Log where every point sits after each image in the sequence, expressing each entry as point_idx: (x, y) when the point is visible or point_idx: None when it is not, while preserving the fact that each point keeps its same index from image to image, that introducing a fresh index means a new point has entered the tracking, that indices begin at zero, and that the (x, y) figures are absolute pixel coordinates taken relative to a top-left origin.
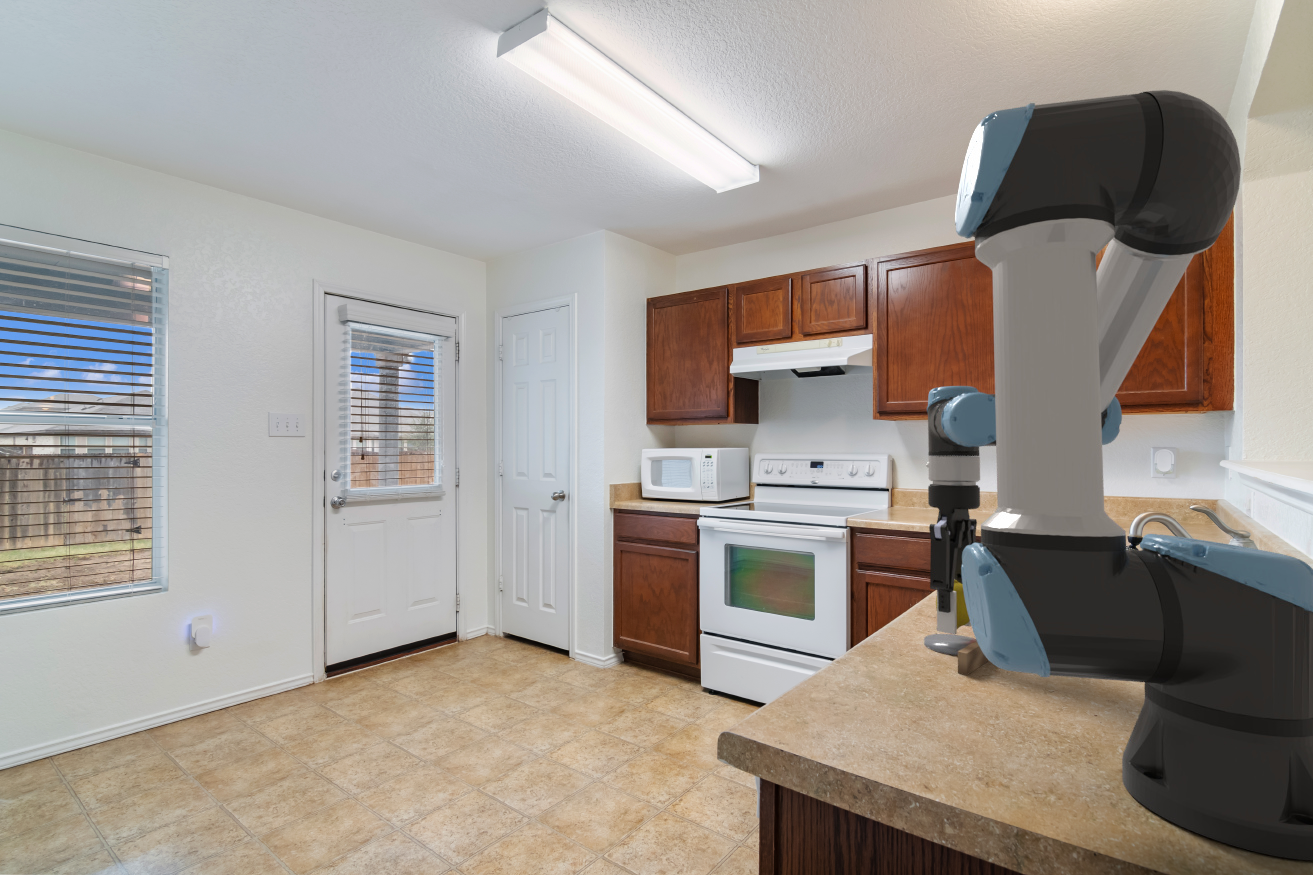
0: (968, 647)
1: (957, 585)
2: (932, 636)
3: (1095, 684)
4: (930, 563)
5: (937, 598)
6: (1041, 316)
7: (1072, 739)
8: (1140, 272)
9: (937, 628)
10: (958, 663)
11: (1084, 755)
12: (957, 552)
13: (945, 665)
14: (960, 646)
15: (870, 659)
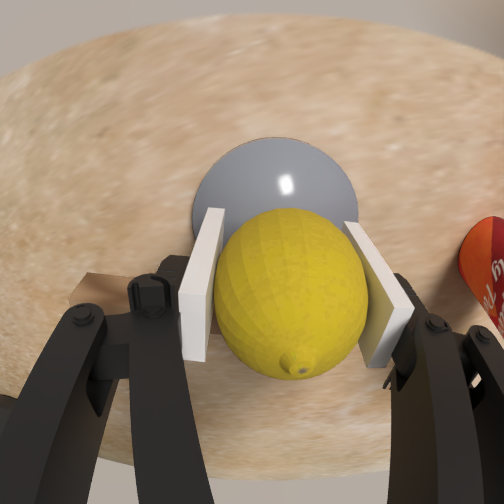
0: (112, 310)
1: (264, 369)
2: (296, 156)
3: (212, 412)
4: (14, 405)
5: (189, 267)
6: None
7: None
8: None
9: (207, 211)
10: (79, 284)
11: (15, 384)
12: (412, 493)
13: (109, 241)
14: None
15: (30, 104)
